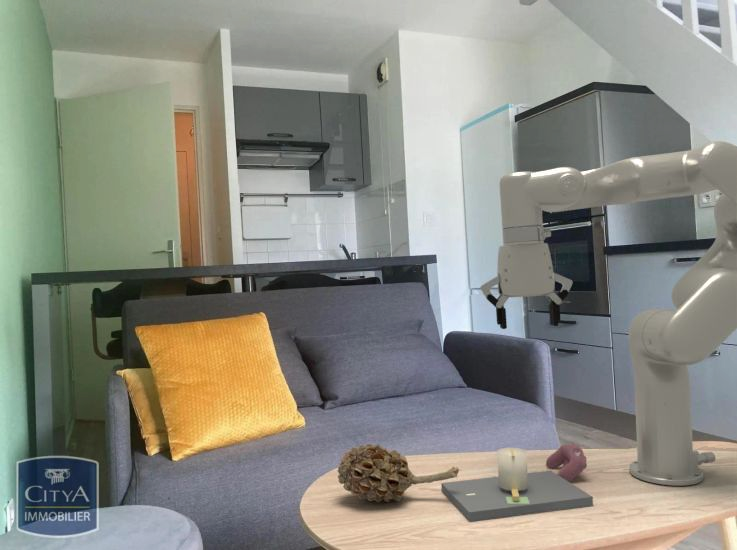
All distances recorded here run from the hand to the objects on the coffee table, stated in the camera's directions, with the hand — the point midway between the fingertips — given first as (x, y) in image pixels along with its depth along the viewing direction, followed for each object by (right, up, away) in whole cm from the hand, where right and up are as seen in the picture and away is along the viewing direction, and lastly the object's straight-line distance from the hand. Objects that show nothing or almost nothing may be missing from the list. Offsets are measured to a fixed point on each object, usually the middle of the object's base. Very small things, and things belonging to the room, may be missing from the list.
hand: (528, 326), depth 112 cm
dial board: (-5, -29, -9) cm, 31 cm away
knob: (-5, -28, -11) cm, 30 cm away
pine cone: (-25, -31, -8) cm, 40 cm away
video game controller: (+8, -29, +2) cm, 30 cm away
